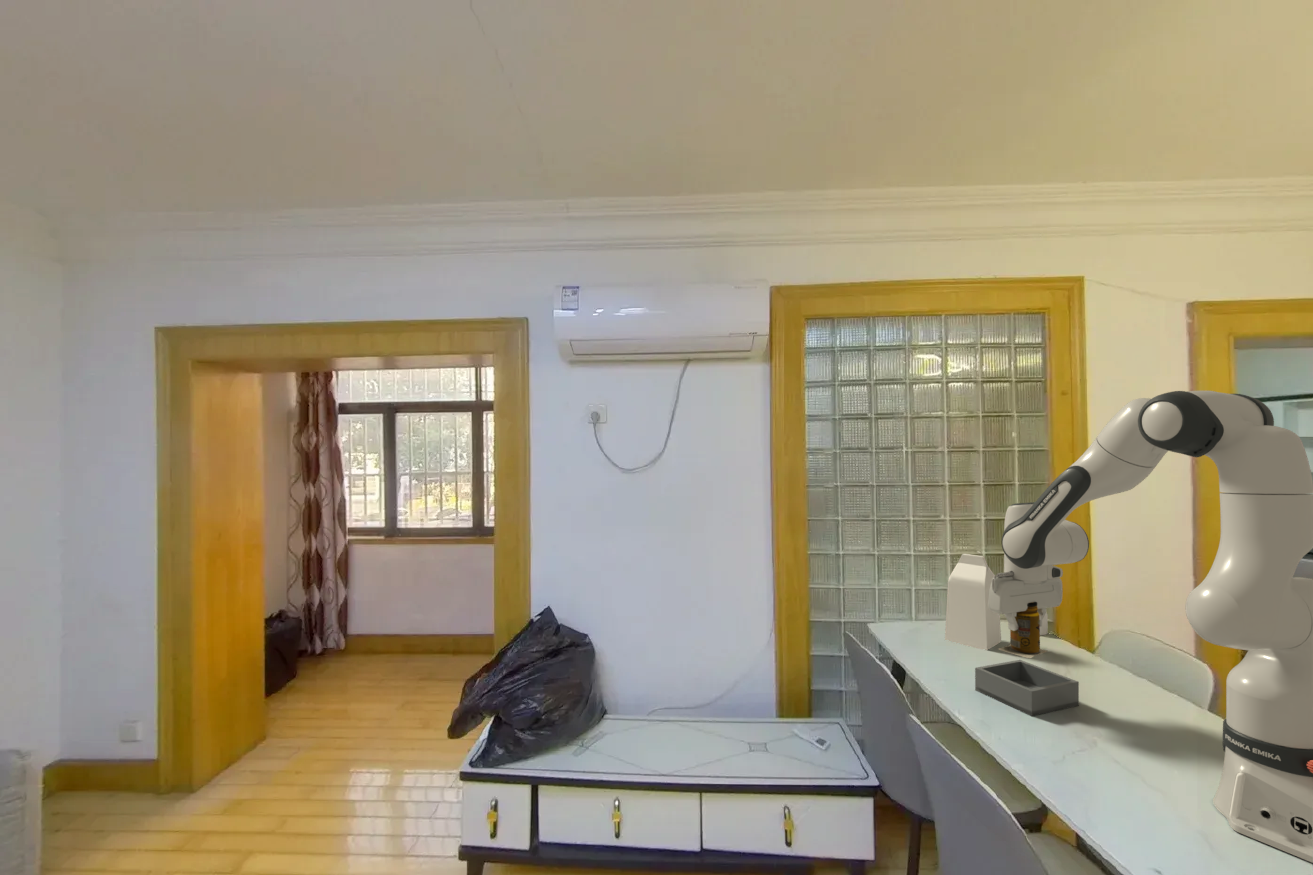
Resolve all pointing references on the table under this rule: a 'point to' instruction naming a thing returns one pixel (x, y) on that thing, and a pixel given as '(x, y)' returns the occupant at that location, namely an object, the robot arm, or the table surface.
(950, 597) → the milk
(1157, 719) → the table surface
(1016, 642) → the condiment
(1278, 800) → the robot arm
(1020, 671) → the box
